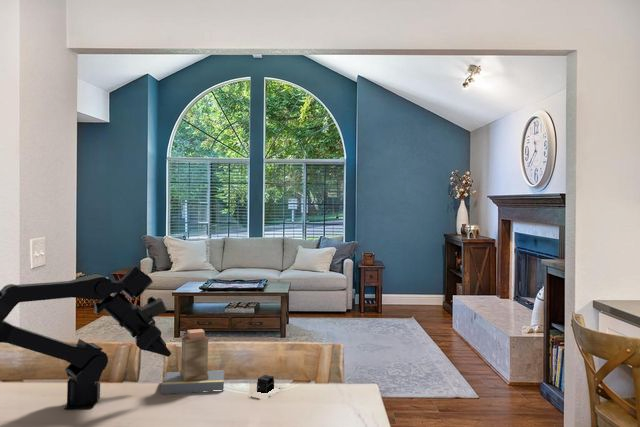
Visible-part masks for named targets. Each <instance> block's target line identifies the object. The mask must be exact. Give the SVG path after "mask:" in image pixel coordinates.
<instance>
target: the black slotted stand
mask: <svg viewBox="0 0 640 427" xmlns="http://www.w3.org/2000/svg"><path fill="white" fill-rule="evenodd" d="M274 387H275V378H274V375H268V374H264V375H262V376H260V377H258V378H257V382H256V391H257V392H261V393H268V392H269V391H271V390H272V389H274Z"/></svg>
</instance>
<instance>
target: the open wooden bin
mask: <svg viewBox="0 0 640 427" xmlns="http://www.w3.org/2000/svg"><path fill="white" fill-rule="evenodd" d="M180 356H181V358H180V360H181V363H180V364H181V365H180V369H181V370H180V371H179V372H180V375H181V377H182V379H183V381H184V382H187V381H195V380H203V379H208V371H209V370H208V366H209V364H208V362H209V361H208V359H209V358H208V357H209V338H208V336H206V335H205V339H197V340H188V339H187V335H182V336H181V355H180Z"/></svg>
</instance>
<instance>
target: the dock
mask: <svg viewBox="0 0 640 427" xmlns="http://www.w3.org/2000/svg"><path fill="white" fill-rule="evenodd" d="M224 384H225V370H224V369H222V370H220V369H219V370H218V369H217V370H208V379H203V380H195V381H187V382H184V381H183V379H182V377H181V375H180V371H168V372H165V375H164V378H163V380H162V383H161V385H160V386H161V388H160V390H161V391H160V392H161V395H169V394H170V393H175V394H188V393H187V392H190V393H189V394H192V393H191V392H197V393H204V392H203V391H213V390H223V389H224V388H225V387H224ZM224 390H225V389H224Z"/></svg>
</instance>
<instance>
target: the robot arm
mask: <svg viewBox="0 0 640 427" xmlns="http://www.w3.org/2000/svg"><path fill="white" fill-rule="evenodd" d="M152 284H153V279H152V278H151V277H150V276H149V275H148V274H147V273H145V272H144V271H142V270H141V269H139V268H138V267H137V266H131V267H130V268H129V269H128V271H127V272H126V273H125V274H124V275H123V276H122V277H121V278H120V279H119V280H117V279H110V278H109V277H107V276H103V275H101V274H95V273H93V274H89V275H86V276H80V277H78V278H75V279H71V280H67V281H51V282H38V283H37V282H35V283H23V284H13V283H9V284H6V285H5V286H3V287H2V288H1V289H0V344H2V343H3V344H9V345H13V346H15V347H20V348H23V349H26V350H29V351H32V352H36V353H38V354H39V353H40V354H42V355H46V356H50V357H52V358H56V359H58V360H61V361H64V362H65V361H66V362H67V363H69V364H68V366H67V367H66V368H65V369H64V371H65V374H66V376H67V377H68V378H69V379H68V380H67V386H66V394H67V395H66V405H64V410H76V409H79V410H80V409H92V408H93V409H94V407H95V406H96V404H97V403H98V402H99V400H100V399H101V382H99V381H100V380H101V376H102V374H103V371H104V370H105V369H106V368H107V366H108V363H109V357H108V354H107V353H106V352H104V351H102V350H103V348H102V347H100V346H99V345H98V344H95V343H94V342H87V341H84V340H83V339H80V338H79V339H78V340H77V343H68V342H65V341H62V340H59V339H56V338H53V337H50V336H48V335H47V336H46V335H43V334H41V333H38V332H34V331H31V330H28V329H27V328H26V329H25V328H23V327H19V326H17V325H13V324H11V323H9V322H8V321H6V318H7V317H8V316H9V315H10V313H11V312H12V311H13V310H14V308H15V307H16V306H17V305H18V304H19V303H26V302H27V303H28V302H38V301H47V300H59V299H69V298H71V299H72V298H75V299H76V298H77V299H85V300H97V301H98V300H99V302H94V303H93V305H94V311H93V312H94V314H97V315H98V314H100V313H101V312H102V311H105V313H107V314H108V315H109V316H110V317H111V318H112V319H114V321H116V322H117V323H118V325H119V326H120V327H121V328H124V329H125V330H126V331H127V332H128V333H129V334H130V336H131V337H132V338H135V339H134V342H135V346H136V347H137V348H138V349H140V350H141V351H144V352H145V351H146V352H150V353H154V354H158V355H161V356H164V357H170V356H171V355H172V352H171V350H170V349H169V348H168V347H167V343H166V342H165V340H164V339H163V338H162V331H161V329H160V328H159V327H158V326H157V325H156V320H155V319H154V317H157V316H159V315H160V314H164V313H166V312H167V311H168V309H167V307H166V305H165V303H164V301H163V299H162V298H159V297H157V299H156V297H153V296H150V297H148V298H147V299H146V303H145V304H144V305H143V306H141V307H140V306H139V305H138V304H134V303H133V302H132V301H131V300H132V299H133V298H135V299H139V297H141V295H142V294H143V293H144V292H145V291H146V290H147V289H148V288H149V287H151V285H152ZM128 298H129V299H128ZM130 299H131V300H130Z"/></svg>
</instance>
